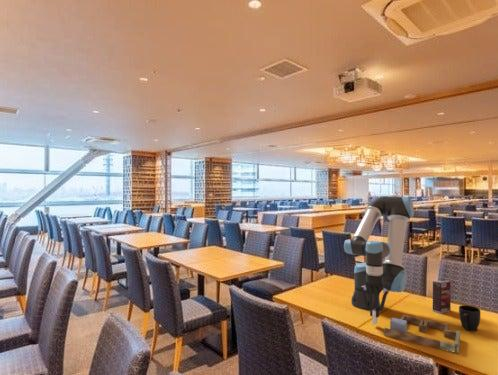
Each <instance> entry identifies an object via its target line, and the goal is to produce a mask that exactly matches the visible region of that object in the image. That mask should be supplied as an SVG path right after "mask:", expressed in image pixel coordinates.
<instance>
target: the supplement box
mask: <svg viewBox="0 0 498 375" xmlns="http://www.w3.org/2000/svg"><path fill="white" fill-rule="evenodd" d="M451 286H452V285H451V281H450V280H446V279H439V280H433V281H432V312H435V313H438V314H444V313H448V312H451V310H452V309H451V308H452V306H451V302H452V300H451V294H452V292H451V289H452V288H451Z"/></svg>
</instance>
